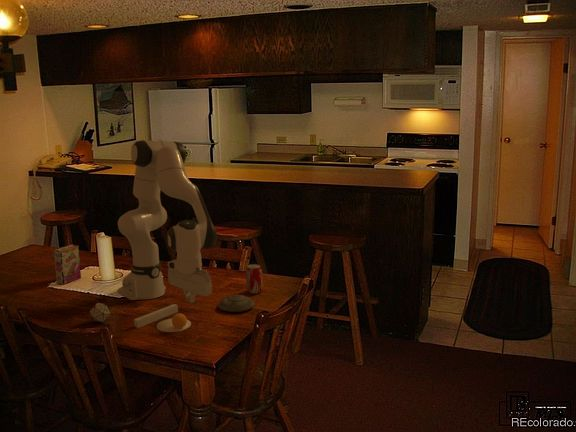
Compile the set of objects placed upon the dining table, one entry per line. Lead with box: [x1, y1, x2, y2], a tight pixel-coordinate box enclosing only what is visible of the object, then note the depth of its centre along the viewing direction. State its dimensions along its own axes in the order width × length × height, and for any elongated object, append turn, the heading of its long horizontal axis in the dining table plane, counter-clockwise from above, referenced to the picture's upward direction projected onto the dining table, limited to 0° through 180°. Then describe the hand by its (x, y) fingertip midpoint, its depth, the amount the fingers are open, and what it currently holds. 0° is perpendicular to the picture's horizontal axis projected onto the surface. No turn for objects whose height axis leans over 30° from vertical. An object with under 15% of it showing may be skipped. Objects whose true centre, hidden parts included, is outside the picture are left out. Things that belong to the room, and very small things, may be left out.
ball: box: [171, 312, 188, 328], centre depth 223 cm, size 6×6×6 cm
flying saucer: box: [217, 294, 255, 313], centre depth 242 cm, size 15×15×6 cm
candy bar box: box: [53, 244, 82, 286], centre depth 277 cm, size 11×5×16 cm, turn 154°
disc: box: [156, 318, 192, 333], centre depth 226 cm, size 13×13×1 cm
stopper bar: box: [133, 303, 179, 329], centre depth 231 cm, size 2×20×3 cm, turn 141°
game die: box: [87, 300, 114, 325], centre depth 229 cm, size 9×8×10 cm
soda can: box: [245, 263, 263, 295], centre depth 259 cm, size 7×7×12 cm
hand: (190, 301), depth 216 cm, fingers closed
